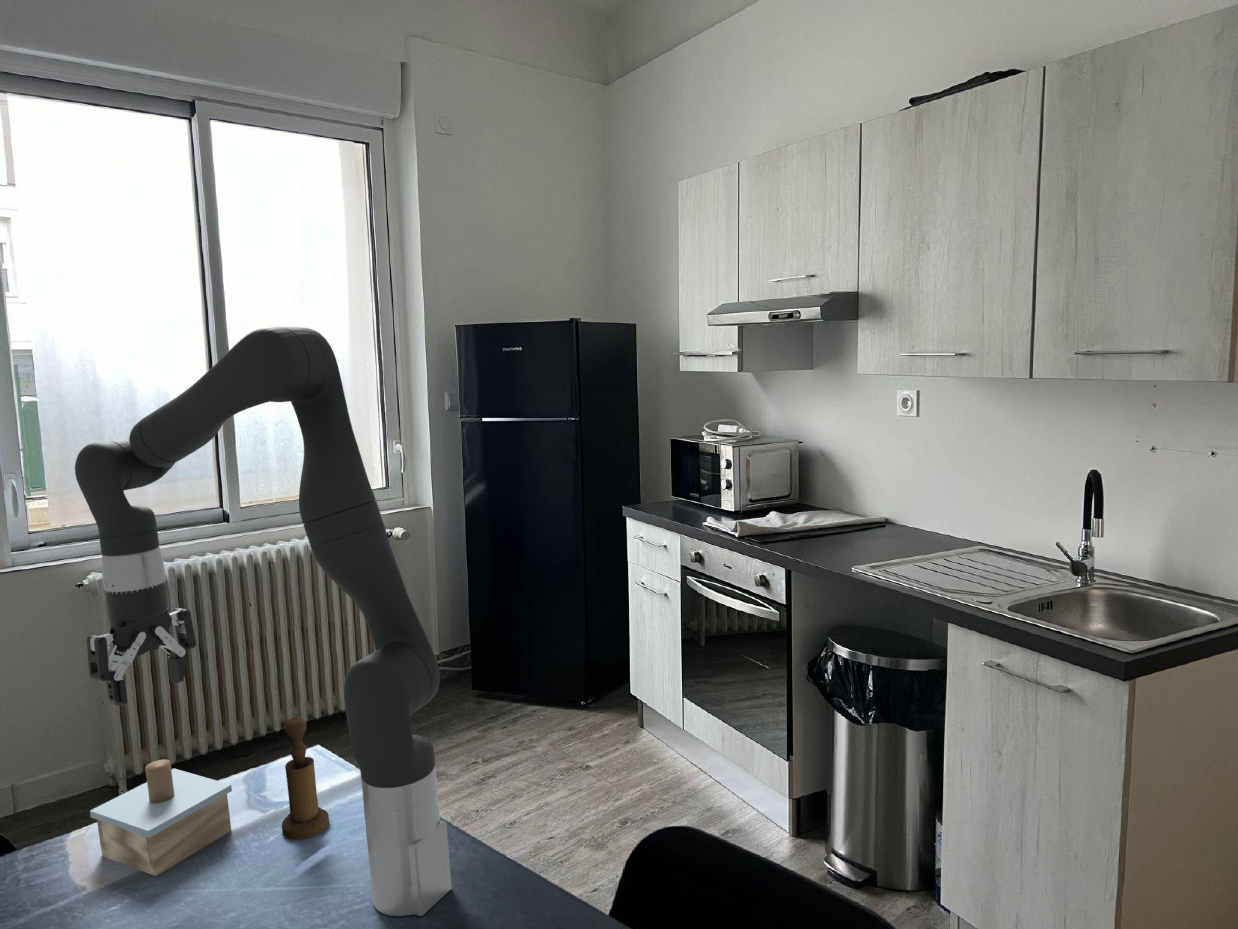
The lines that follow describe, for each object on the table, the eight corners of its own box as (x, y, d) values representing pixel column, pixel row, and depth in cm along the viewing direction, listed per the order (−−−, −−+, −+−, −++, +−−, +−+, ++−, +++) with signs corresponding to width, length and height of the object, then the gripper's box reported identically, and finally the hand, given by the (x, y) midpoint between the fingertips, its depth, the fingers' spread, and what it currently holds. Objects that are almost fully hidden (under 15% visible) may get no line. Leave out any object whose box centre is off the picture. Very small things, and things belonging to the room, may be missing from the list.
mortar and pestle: (337, 821, 129) (326, 709, 127) (318, 846, 123) (306, 728, 120) (295, 821, 130) (283, 709, 128) (274, 846, 124) (261, 728, 121)
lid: (231, 791, 126) (227, 753, 125) (149, 838, 115) (143, 796, 114) (174, 774, 132) (170, 738, 131) (90, 817, 120) (85, 777, 120)
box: (232, 836, 127) (226, 792, 126) (156, 882, 116) (150, 835, 115) (179, 819, 132) (173, 776, 131) (103, 862, 122) (96, 816, 121)
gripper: (100, 599, 111) (117, 717, 113) (198, 571, 123) (211, 678, 126) (66, 593, 114) (83, 708, 117) (165, 567, 127) (178, 671, 129)
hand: (149, 692), depth 121 cm, fingers open, 8 cm apart
